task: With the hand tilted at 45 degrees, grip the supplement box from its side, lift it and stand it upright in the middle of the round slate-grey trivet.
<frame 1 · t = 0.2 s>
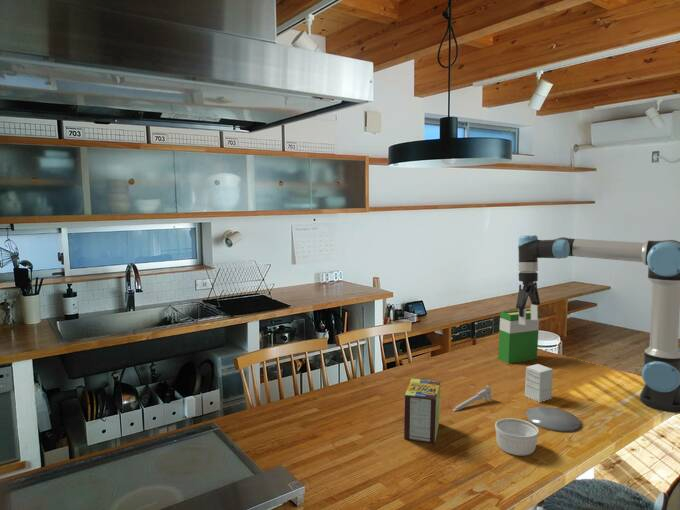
hand: (528, 322, 206), 28 cm above the table, tool pointing down, fingers open, 13 cm apart
trivet: (552, 419, 176), on the table
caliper: (472, 406, 188), on the table
green white box: (517, 359, 243), on the table
protein box: (421, 431, 167), on the table
ramekin: (515, 448, 157), on the table
supplement box: (537, 398, 196), on the table
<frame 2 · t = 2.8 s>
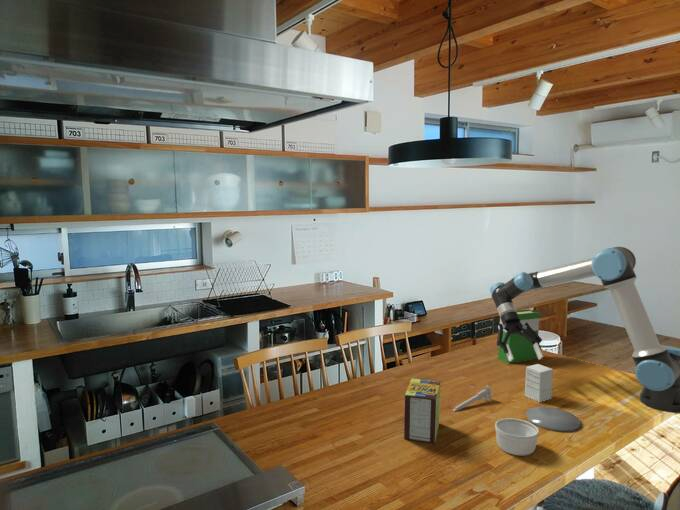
hand: (526, 359, 202), 13 cm above the table, tool tilted 45°, fingers open, 13 cm apart
nothing on the table moved.
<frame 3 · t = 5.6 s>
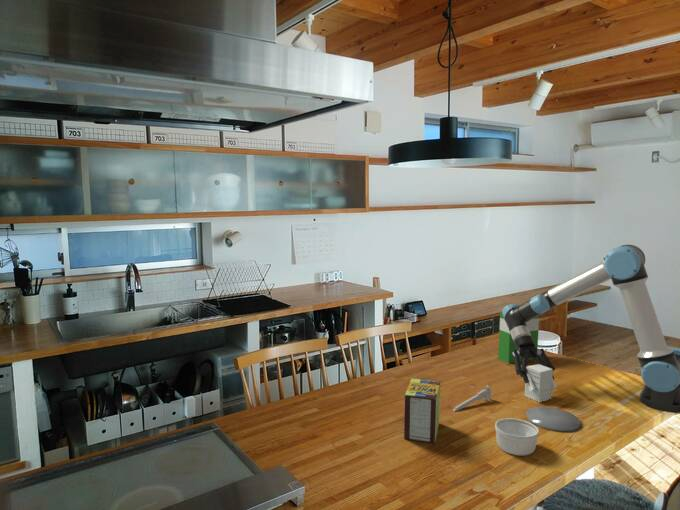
hand: (543, 389, 192), 5 cm above the table, tool tilted 45°, fingers closed on supplement box, 9 cm apart
supplement box: (537, 398, 196), on the table, touching gripper
everything else where it was.
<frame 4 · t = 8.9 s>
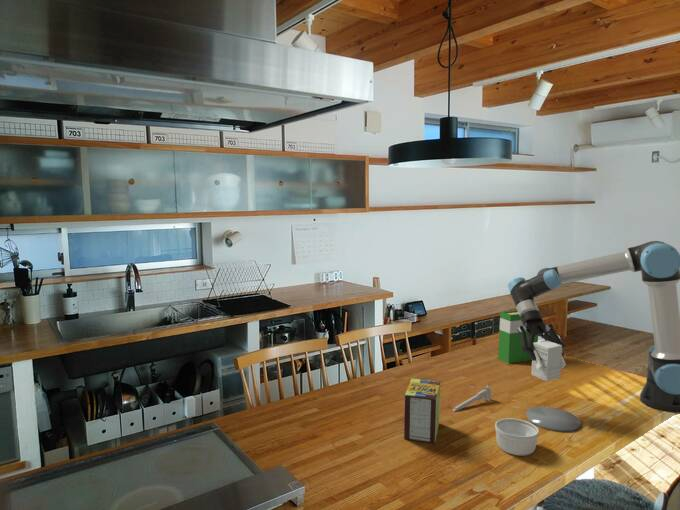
hand: (551, 367, 178), 18 cm above the table, tool tilted 45°, fingers closed on supplement box, 9 cm apart
supplement box: (545, 377, 181), point 13 cm above the table, touching gripper
everything else where it was.
when the fingers open (7 cm above the table, at t = 12.5 s): supplement box drops 1 cm, resting on trivet.
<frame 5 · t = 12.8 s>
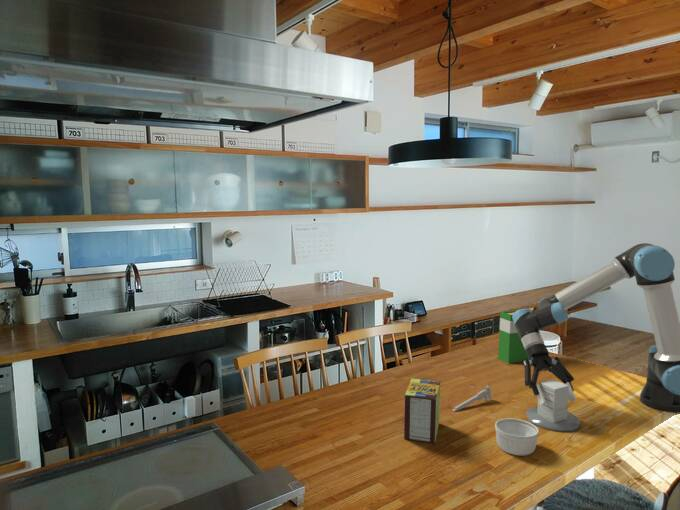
hand: (558, 402, 173), 8 cm above the table, tool tilted 45°, fingers open, 11 cm apart
supplement box: (551, 417, 176), point 1 cm above the table, touching trivet
everything else where it was.
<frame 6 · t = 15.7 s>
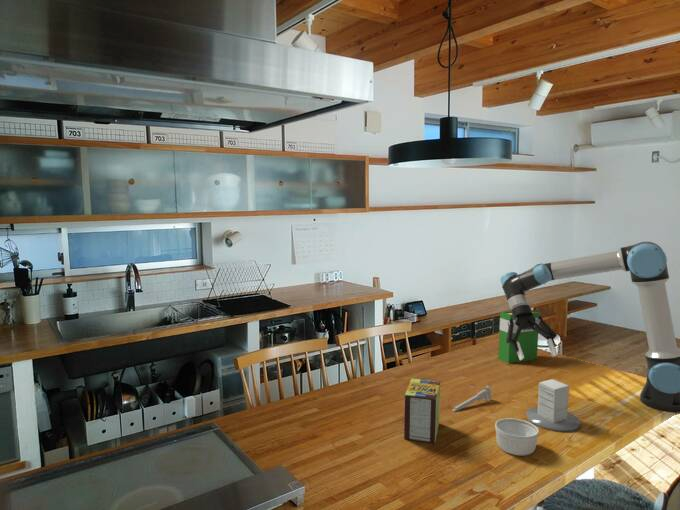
hand: (538, 357, 187), 19 cm above the table, tool tilted 40°, fingers open, 13 cm apart
nothing on the table moved.
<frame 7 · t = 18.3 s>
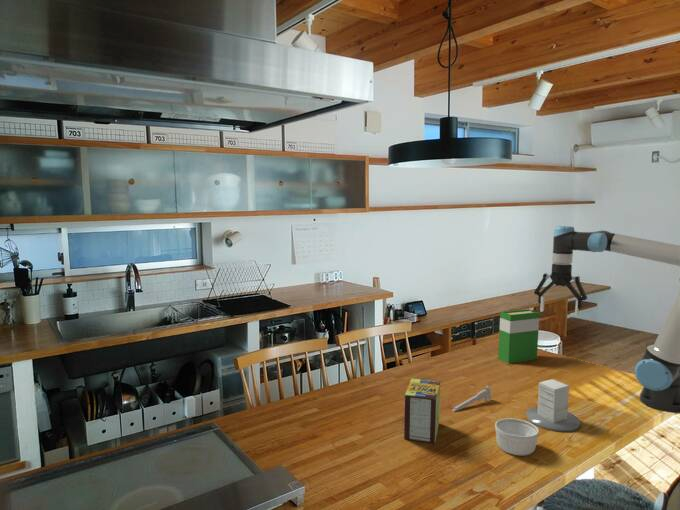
hand: (558, 313, 204), 32 cm above the table, tool pointing down, fingers open, 13 cm apart
nothing on the table moved.
at the end: supplement box inside the target area on the trivet (0.2 cm from its centre), point 0.8 cm above the trivet's base; supplement box tilted 0°; the gripper is holding nothing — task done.
